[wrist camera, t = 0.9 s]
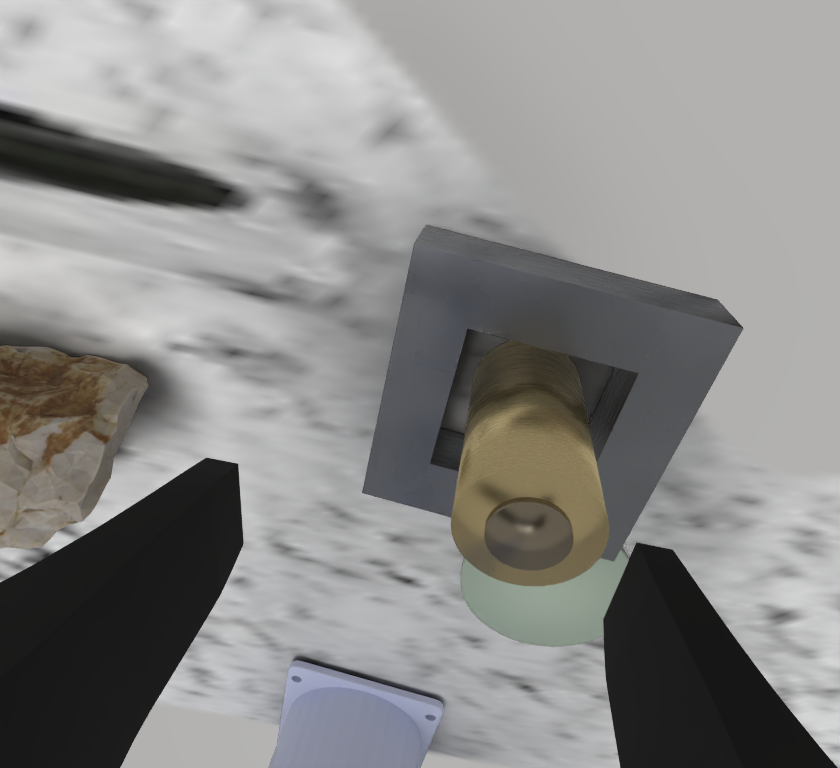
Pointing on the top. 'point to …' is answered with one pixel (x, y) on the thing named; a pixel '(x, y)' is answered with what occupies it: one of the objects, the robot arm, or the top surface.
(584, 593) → the mat
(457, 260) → the housing
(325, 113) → the top surface
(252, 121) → the top surface
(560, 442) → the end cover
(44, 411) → the rock
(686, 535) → the top surface
